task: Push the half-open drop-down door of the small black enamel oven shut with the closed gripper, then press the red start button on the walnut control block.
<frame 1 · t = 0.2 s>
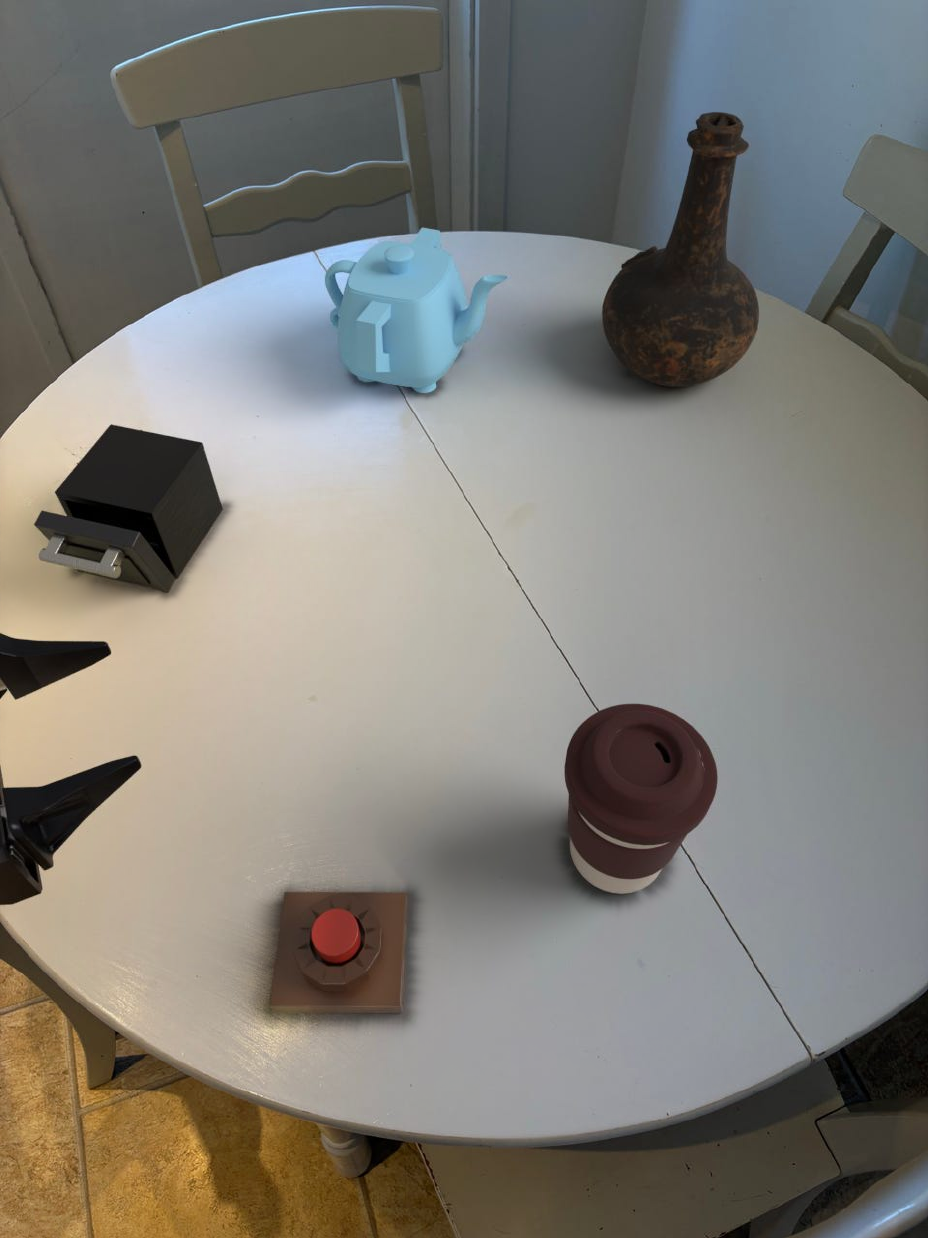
hand: (123, 701, 57), 18 cm above the table, tool horizontal, fingers open, 9 cm apart
oven: (157, 533, 91), on the table
coffee cup: (615, 851, 69), on the table
oven door: (101, 564, 82), point 4 cm above the table, hinge at 12.9°
glass bottle: (669, 363, 108), on the table
teapot: (418, 366, 108), on the table
control block: (343, 954, 64), on the table
start button: (336, 936, 61), point 4 cm above the table, slide at 0.1 cm
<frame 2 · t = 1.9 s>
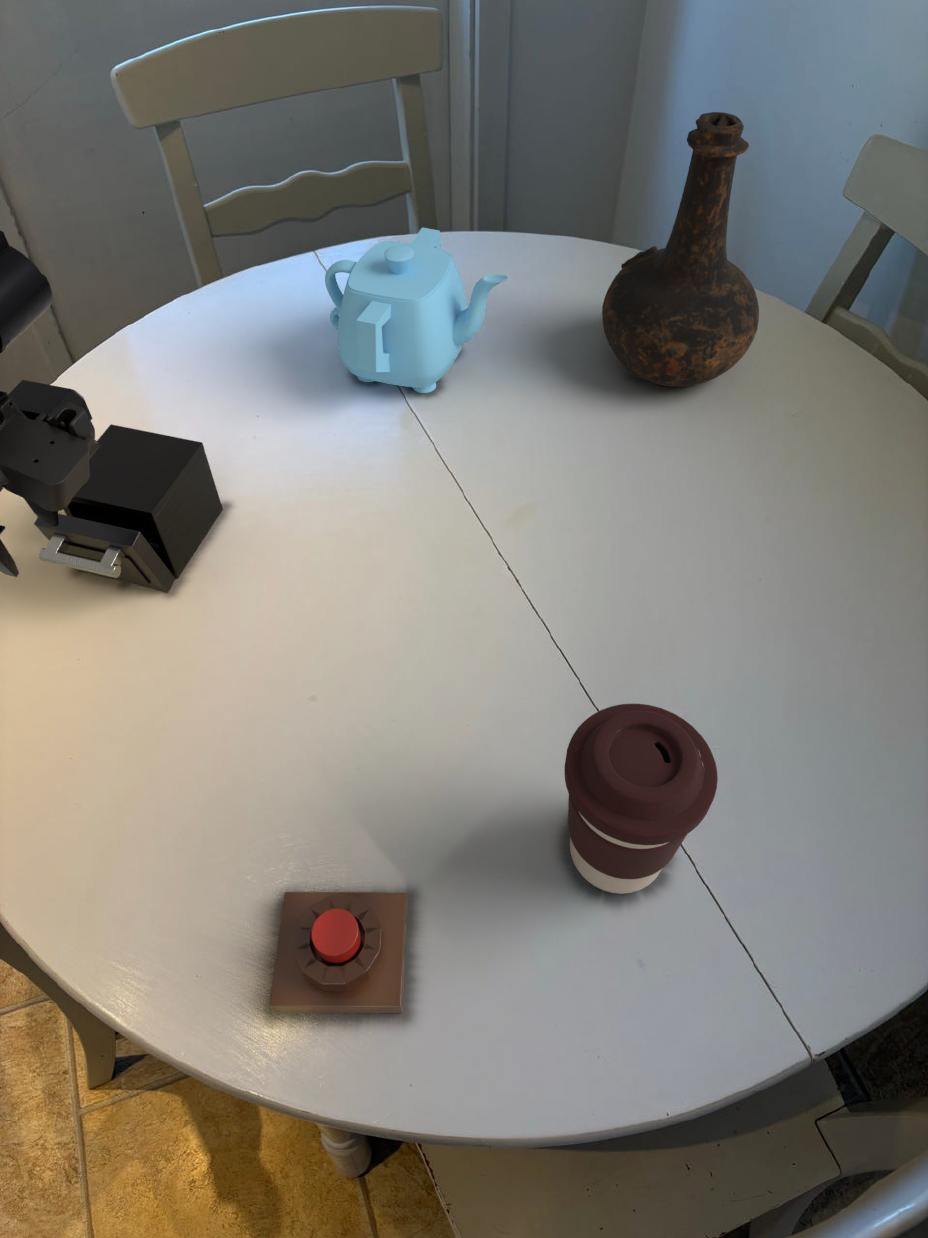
hand: (33, 549, 73), 12 cm above the table, tool pointing down, fingers open, 5 cm apart
oven door: (101, 564, 82), point 4 cm above the table, hinge at 12.6°
everything else where it was.
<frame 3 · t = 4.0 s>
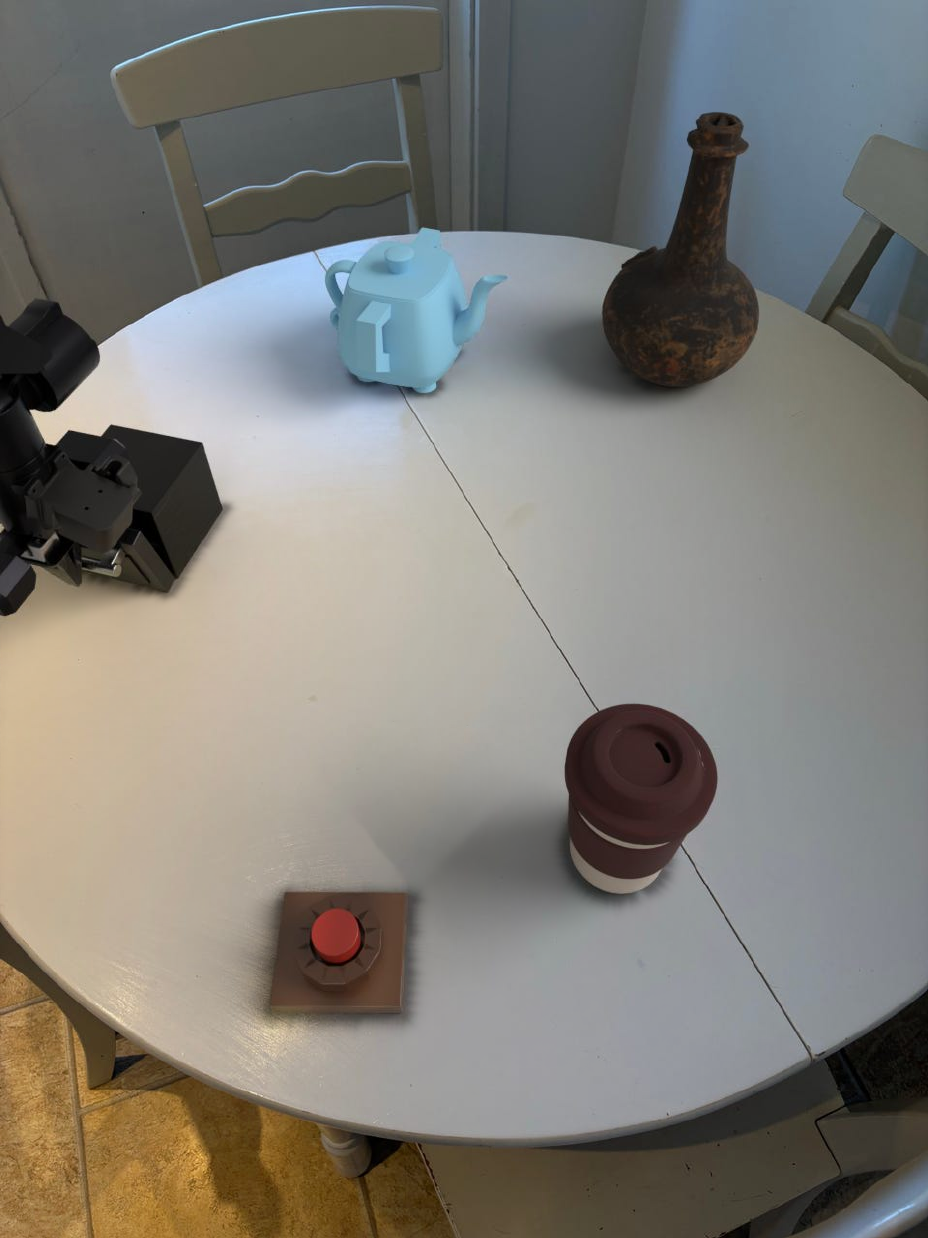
hand: (76, 584, 79), 5 cm above the table, tool pointing down, fingers closed
oven door: (101, 563, 82), point 4 cm above the table, hinge at 11.9°, touching gripper
everything else where it was.
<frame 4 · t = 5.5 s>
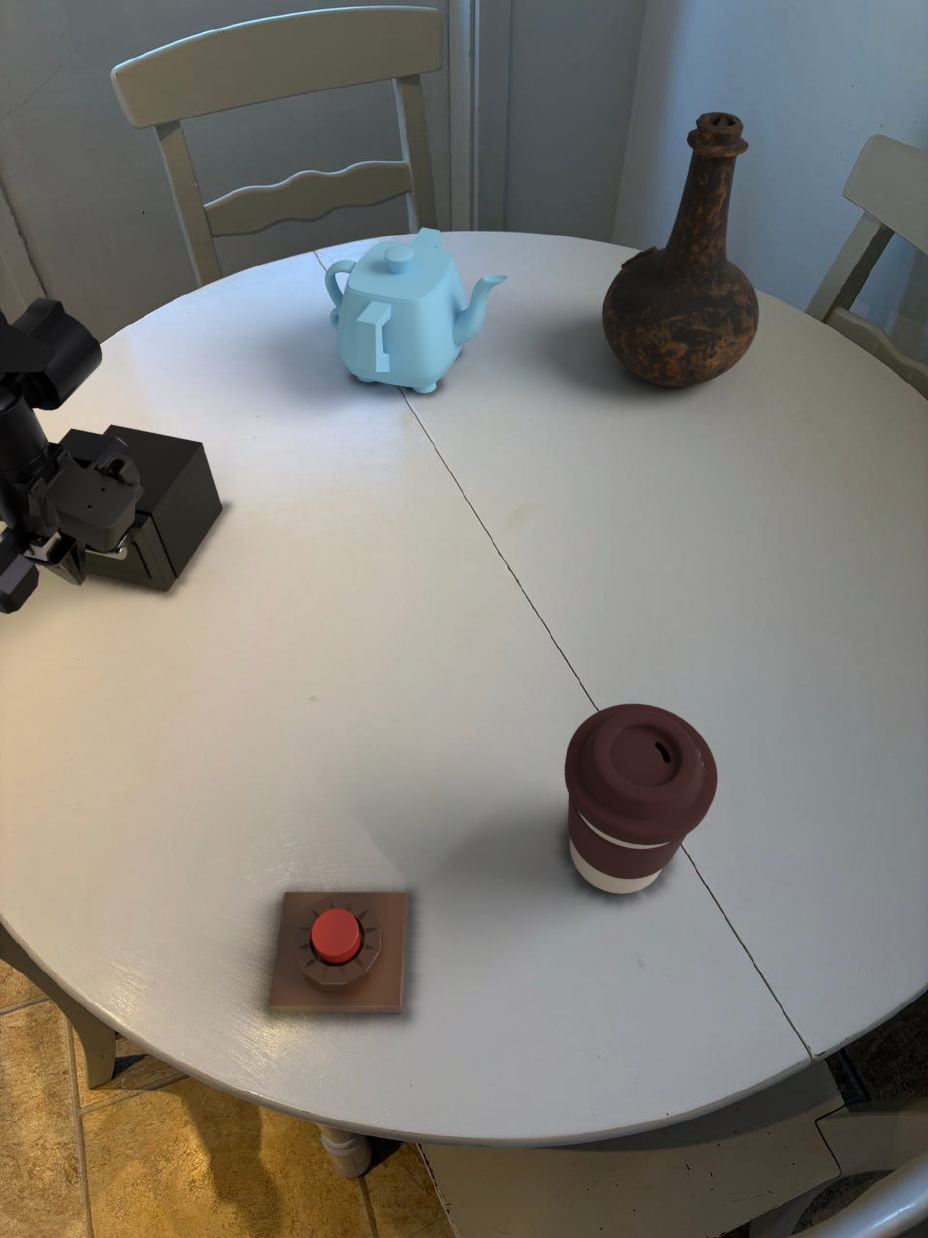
hand: (78, 582, 80), 5 cm above the table, tool pointing down, fingers closed
oven door: (105, 554, 83), point 5 cm above the table, hinge at -0.1°
everything else where it was.
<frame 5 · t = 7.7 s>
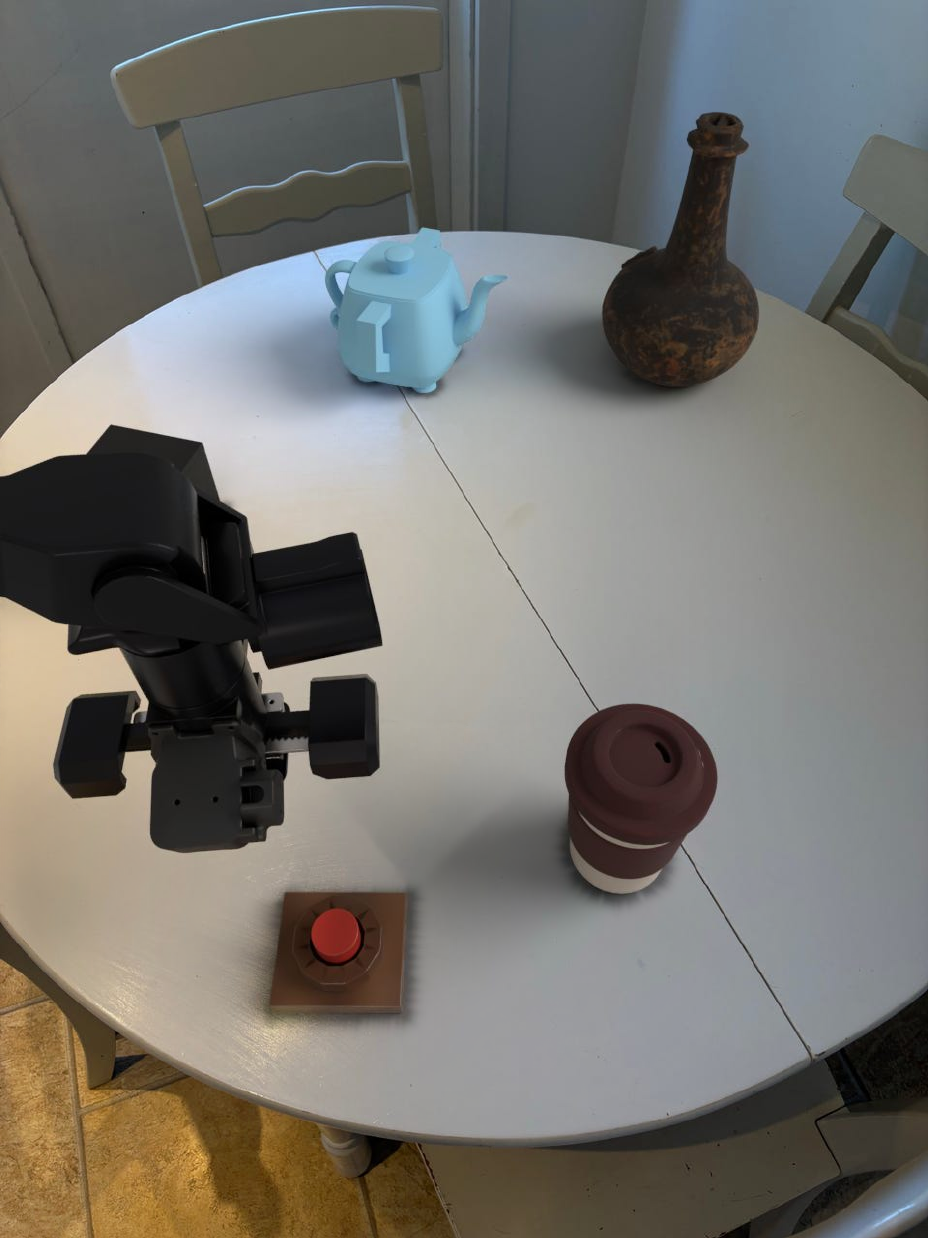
hand: (251, 797, 60), 11 cm above the table, tool pointing down, fingers closed
nothing on the table moved.
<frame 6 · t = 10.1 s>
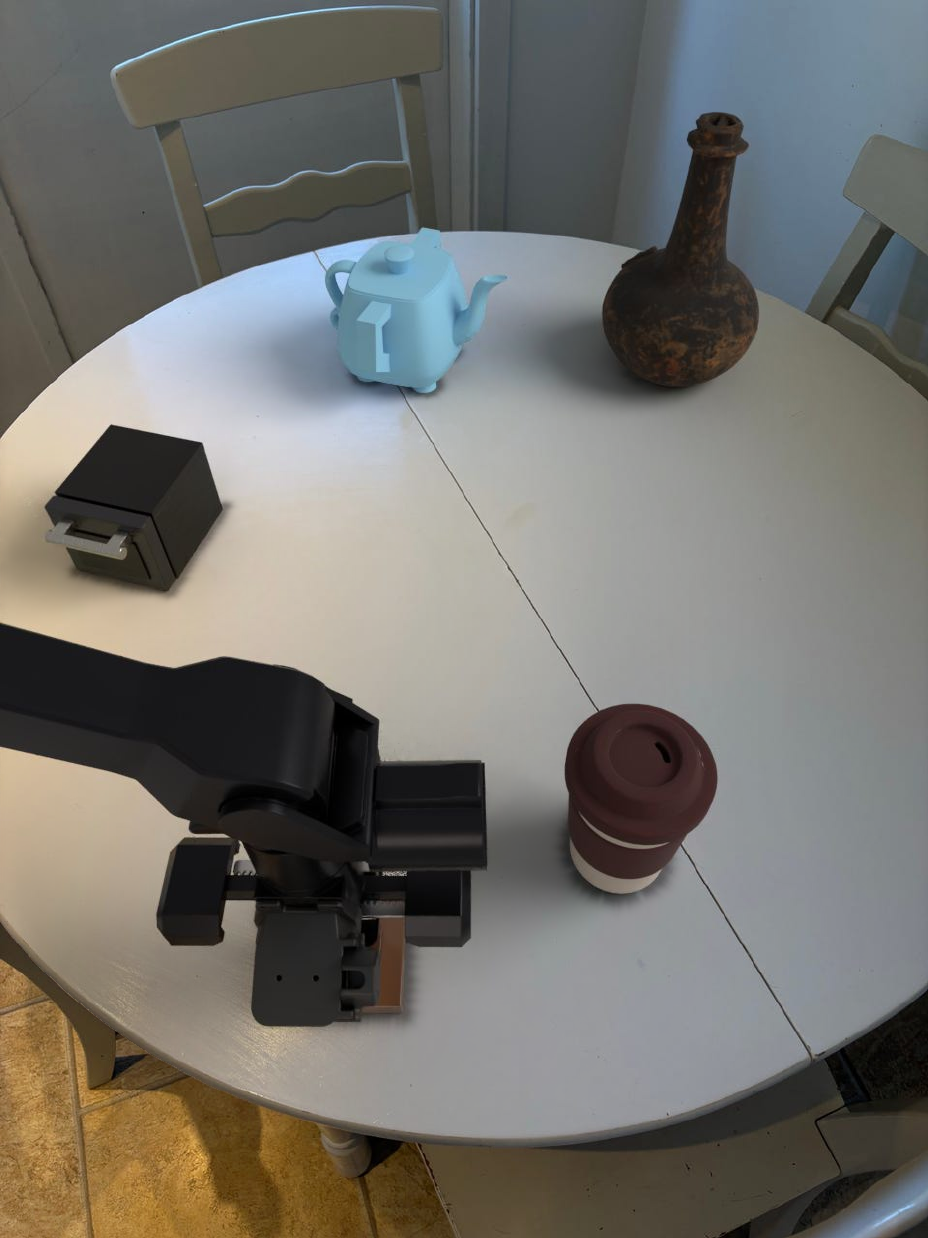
hand: (336, 936, 61), 4 cm above the table, tool pointing down, fingers closed, pressing on start button
start button: (338, 940, 62), point 3 cm above the table, slide at -0.9 cm, touching gripper
everything else where it was.
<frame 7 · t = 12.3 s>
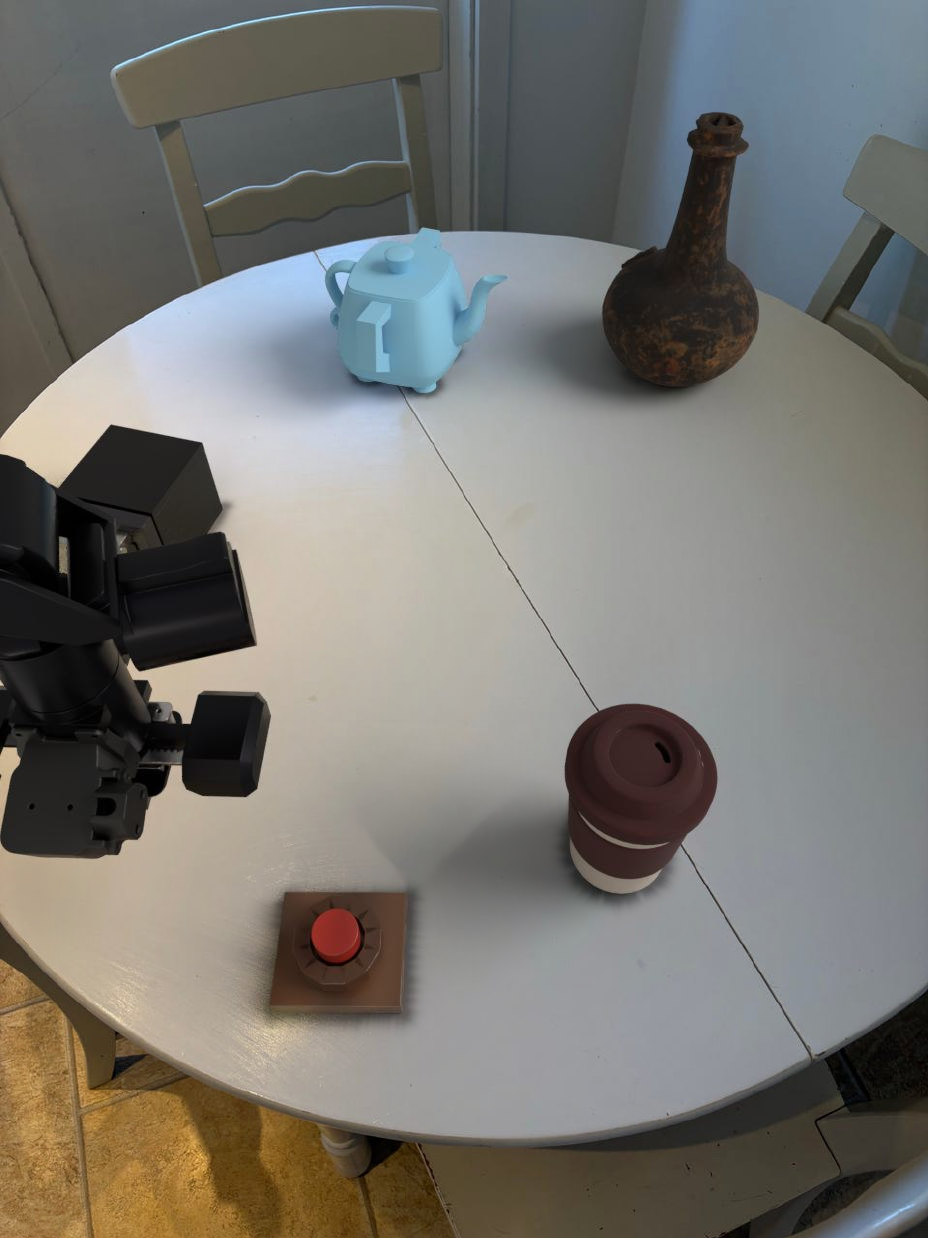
hand: (144, 803, 59), 11 cm above the table, tool pointing down, fingers closed
start button: (336, 936, 61), point 4 cm above the table, slide at 0.1 cm
everything else where it was.
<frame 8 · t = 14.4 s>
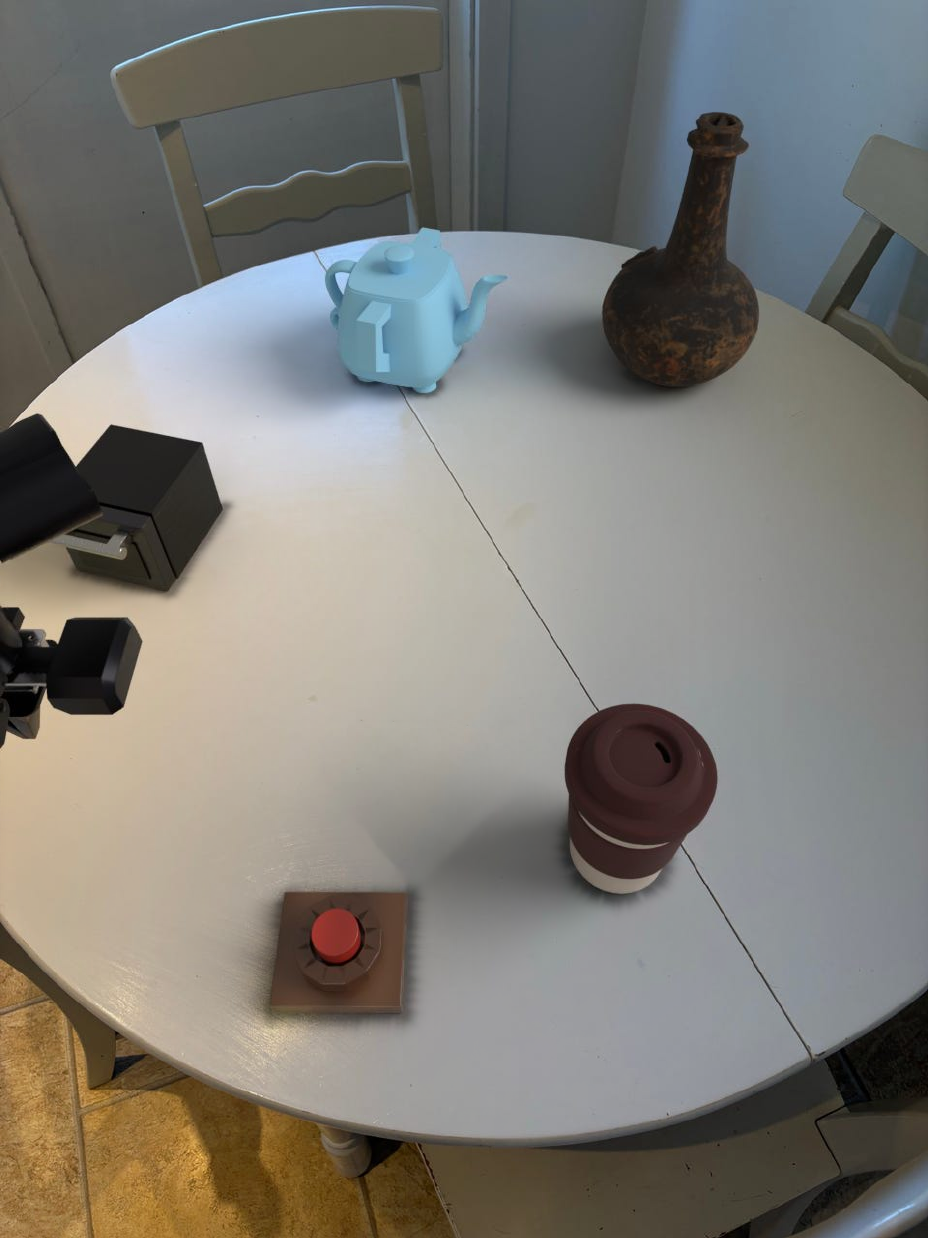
hand: (32, 733, 62), 12 cm above the table, tool pointing down, fingers closed
nothing on the table moved.
at the end: oven door at +0° (first picture: +13°); start button pushed in 1.1 cm at the most during the clip, back to where it started at the end; start button slide at 0.1 cm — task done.
